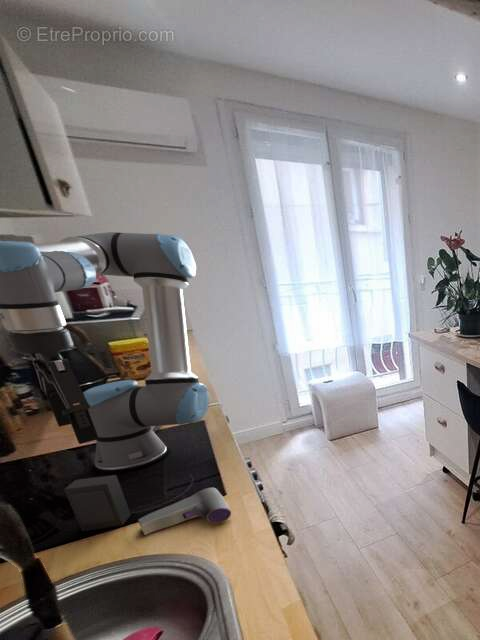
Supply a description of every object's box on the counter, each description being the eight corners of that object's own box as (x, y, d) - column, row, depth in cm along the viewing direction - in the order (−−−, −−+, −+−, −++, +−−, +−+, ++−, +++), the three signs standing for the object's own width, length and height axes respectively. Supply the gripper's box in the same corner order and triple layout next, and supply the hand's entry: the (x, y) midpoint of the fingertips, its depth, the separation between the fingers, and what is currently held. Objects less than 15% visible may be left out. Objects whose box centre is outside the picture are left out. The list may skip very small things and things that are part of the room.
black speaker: (92, 521, 94) (75, 479, 90) (131, 515, 96) (116, 474, 93) (81, 532, 90) (63, 489, 86) (122, 526, 93) (106, 484, 89)
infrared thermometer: (142, 530, 93) (220, 498, 103) (154, 555, 86) (236, 518, 96) (134, 514, 91) (214, 483, 102) (146, 538, 84) (230, 503, 95)
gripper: (-9, 323, 79) (34, 423, 87) (23, 342, 67) (70, 456, 75) (48, 318, 85) (84, 412, 93) (87, 335, 73) (124, 441, 81)
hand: (78, 432), depth 84 cm, fingers open, 13 cm apart
